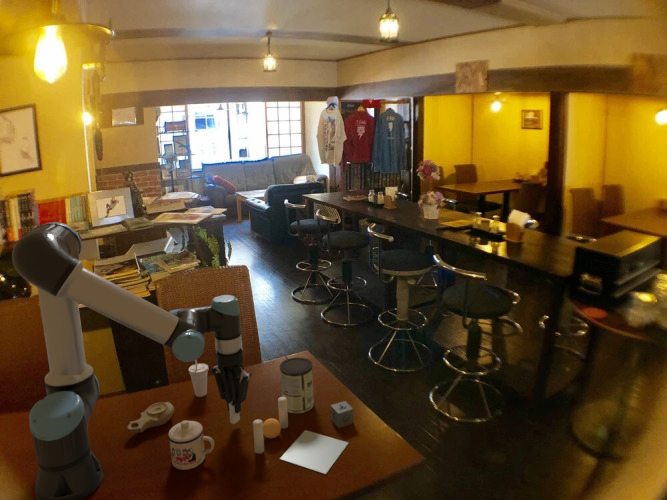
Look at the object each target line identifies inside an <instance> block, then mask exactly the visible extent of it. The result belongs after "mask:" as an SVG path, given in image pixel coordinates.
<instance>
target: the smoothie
mask: <svg viewBox="0 0 667 500" xmlns="http://www.w3.org/2000/svg"><path fill="white" fill-rule="evenodd" d="M197 360H198V359H196V360H194V363H195V364H192V365H190V366H189V368H188V373H189V375H190V378H191V383H192V387H193V391H194V394H195V397H198V398H202V397H205V396H206V395H207V393H208V391H207V390H208V371H209V370H210V369H209V365H208V364H206V363H198V361H197Z"/></svg>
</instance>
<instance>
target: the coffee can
mask: <svg viewBox="0 0 667 500" xmlns="http://www.w3.org/2000/svg"><path fill="white" fill-rule="evenodd" d="M313 365H314V364H313V362H312V361H311V360H310V359H308V358H305V357H292V358H291V357H290V358H288V359H287V360H286V359H285V361H284V360H283V361H281V363H280V364H279V370H280V371H279V372H280V385H281V397H286V398H287V411H288V413H291V414H304V413H307V412H309V411H310V410H311V409H313V408H314V406H315V402H314V401H315V399H314V378H313V377H314V376H313V375H314V374H313Z"/></svg>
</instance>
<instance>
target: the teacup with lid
mask: <svg viewBox="0 0 667 500" xmlns="http://www.w3.org/2000/svg"><path fill="white" fill-rule="evenodd" d="M167 437H168V438H167V439H168V440H169V447H170V456H171V463H172V466H173V467H174V468H175V469H177V470H182V471H183V470H184V471H187V470H191V469H194V468H197V467H199V466H200V465H201V464H202V463H203V461H204V460H205V458H206V455H207V454H210V453H211V452H212V451H213V450H214V448H215V440H214V439H213V438H212V437H211V436H207V435H204V427H203V425H202V424H201V423H200V422H198V421H196V420H182V421H181V422H178V423H177V424H174V426H172V427H171V428H170V429H169V431H168V434H167ZM204 441H207V442H209V443H210V448H207V449H205V442H204Z"/></svg>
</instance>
